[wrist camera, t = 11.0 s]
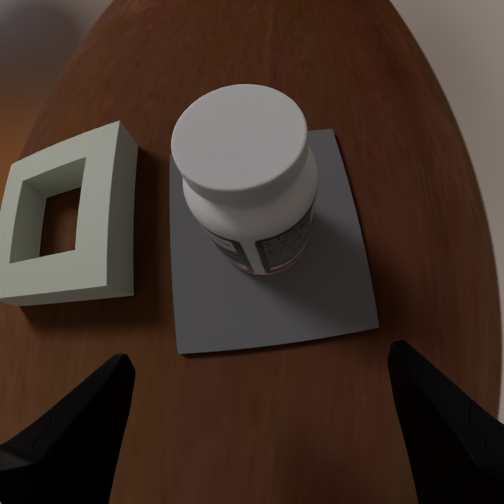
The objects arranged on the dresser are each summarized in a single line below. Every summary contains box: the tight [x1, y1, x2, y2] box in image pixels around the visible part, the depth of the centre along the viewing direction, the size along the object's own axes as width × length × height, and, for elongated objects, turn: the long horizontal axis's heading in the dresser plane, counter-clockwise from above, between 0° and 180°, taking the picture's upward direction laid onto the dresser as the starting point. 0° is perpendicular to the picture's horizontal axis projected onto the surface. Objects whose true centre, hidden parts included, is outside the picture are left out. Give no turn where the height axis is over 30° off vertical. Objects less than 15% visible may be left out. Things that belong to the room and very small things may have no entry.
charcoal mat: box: [170, 129, 379, 354], centre depth 19 cm, size 14×12×1 cm
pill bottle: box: [171, 84, 318, 275], centre depth 14 cm, size 6×6×10 cm
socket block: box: [0, 121, 138, 306], centre depth 20 cm, size 12×12×4 cm
